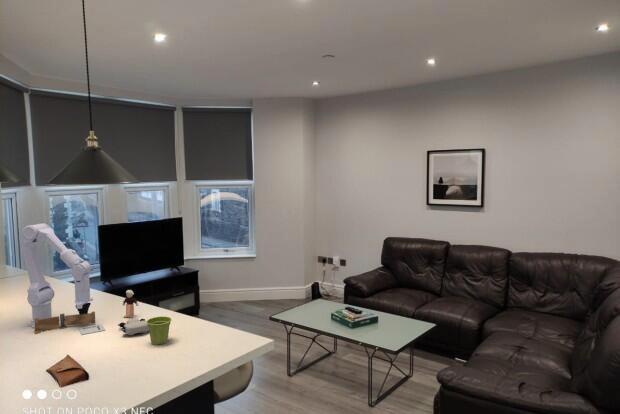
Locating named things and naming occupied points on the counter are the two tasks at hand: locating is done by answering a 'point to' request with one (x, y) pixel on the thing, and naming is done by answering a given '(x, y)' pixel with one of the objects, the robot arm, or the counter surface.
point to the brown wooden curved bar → (77, 319)
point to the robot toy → (134, 326)
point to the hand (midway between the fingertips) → (83, 320)
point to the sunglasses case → (68, 372)
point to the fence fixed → (47, 324)
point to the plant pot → (159, 329)
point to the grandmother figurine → (129, 304)
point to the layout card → (91, 329)
